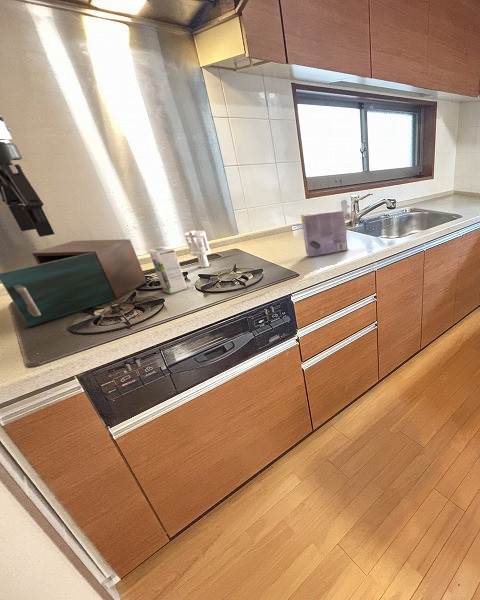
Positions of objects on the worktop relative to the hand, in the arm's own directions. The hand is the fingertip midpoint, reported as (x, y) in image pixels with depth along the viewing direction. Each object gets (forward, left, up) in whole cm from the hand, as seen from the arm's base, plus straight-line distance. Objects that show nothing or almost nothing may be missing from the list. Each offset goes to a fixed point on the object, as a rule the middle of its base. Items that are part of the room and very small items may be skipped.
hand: (37, 232), depth 84 cm
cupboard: (-6, +20, -25) cm, 32 cm away
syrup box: (+19, +15, -25) cm, 35 cm away
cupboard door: (-2, +1, -25) cm, 25 cm away
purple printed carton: (+70, +45, -25) cm, 87 cm away
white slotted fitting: (+20, +39, -25) cm, 51 cm away
